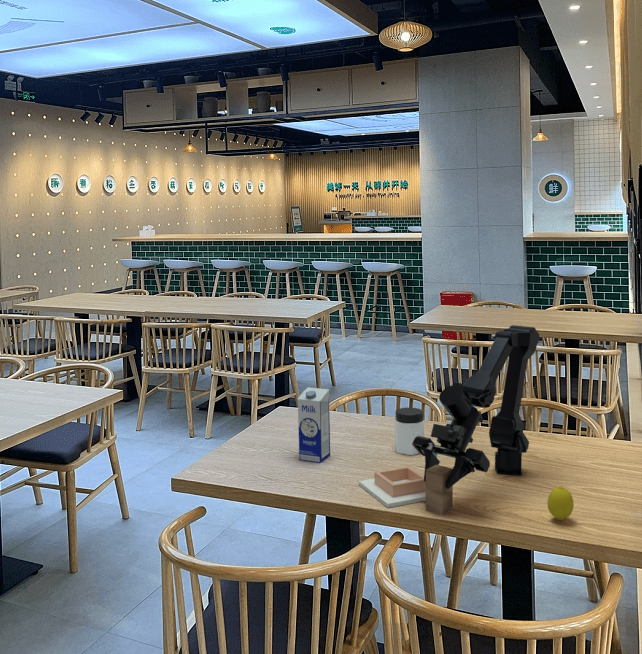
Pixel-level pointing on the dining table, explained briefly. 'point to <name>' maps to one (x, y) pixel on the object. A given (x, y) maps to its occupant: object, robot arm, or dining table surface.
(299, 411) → the milk carton
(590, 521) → the dining table surface
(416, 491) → the terracotta holder
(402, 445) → the jar
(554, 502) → the lemon
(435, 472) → the walnut post
